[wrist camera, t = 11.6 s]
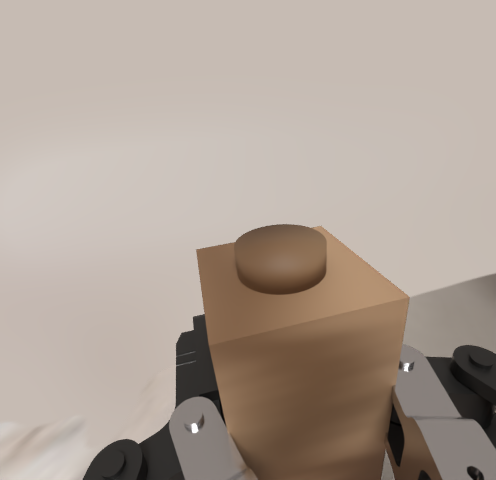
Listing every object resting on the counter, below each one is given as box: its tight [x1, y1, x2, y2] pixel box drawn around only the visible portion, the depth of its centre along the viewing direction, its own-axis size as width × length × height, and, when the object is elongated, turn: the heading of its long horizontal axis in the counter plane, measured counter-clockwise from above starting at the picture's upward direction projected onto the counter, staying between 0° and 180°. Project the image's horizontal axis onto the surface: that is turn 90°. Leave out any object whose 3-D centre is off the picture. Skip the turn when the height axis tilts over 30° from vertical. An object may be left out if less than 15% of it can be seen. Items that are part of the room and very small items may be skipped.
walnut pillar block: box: [197, 224, 410, 480], centre depth 10 cm, size 4×4×11 cm
